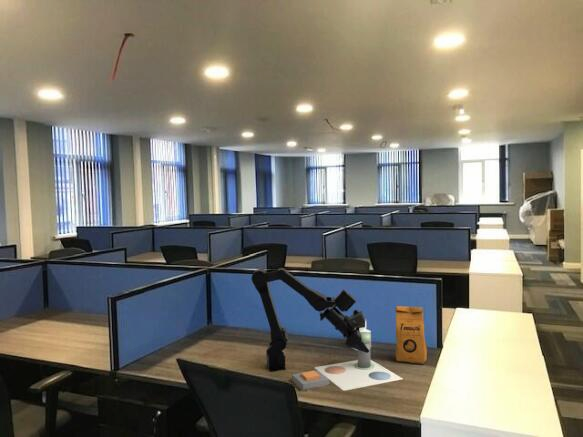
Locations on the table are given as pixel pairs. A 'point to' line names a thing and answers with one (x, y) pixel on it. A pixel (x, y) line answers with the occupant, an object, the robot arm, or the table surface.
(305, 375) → the button
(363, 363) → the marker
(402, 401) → the table surface
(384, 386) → the table surface
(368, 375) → the white square board
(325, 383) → the button housing
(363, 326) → the container
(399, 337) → the coffee package
